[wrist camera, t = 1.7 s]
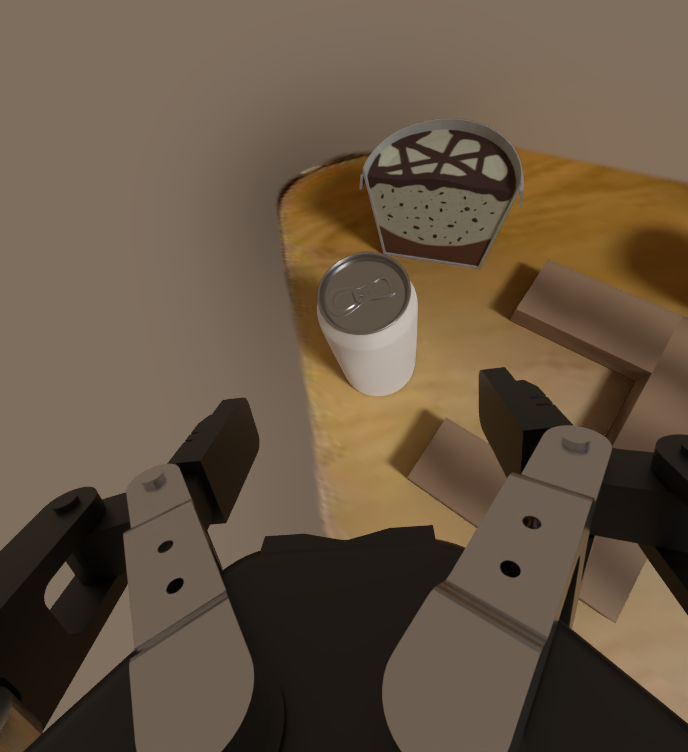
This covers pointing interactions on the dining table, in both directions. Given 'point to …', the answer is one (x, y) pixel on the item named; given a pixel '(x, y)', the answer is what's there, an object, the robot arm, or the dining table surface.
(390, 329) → the can
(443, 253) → the food container
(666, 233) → the dining table surface
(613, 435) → the notched board
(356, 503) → the dining table surface
